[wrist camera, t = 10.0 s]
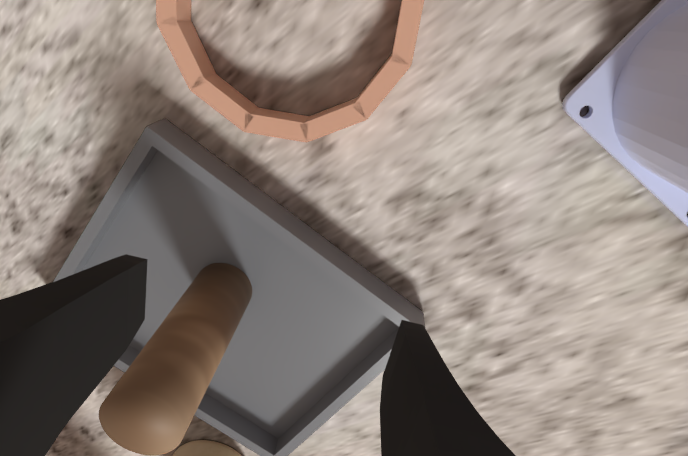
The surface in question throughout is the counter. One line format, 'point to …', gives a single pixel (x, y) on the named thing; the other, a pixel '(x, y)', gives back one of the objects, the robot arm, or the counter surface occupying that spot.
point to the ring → (251, 119)
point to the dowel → (177, 364)
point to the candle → (205, 449)
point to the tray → (267, 289)
